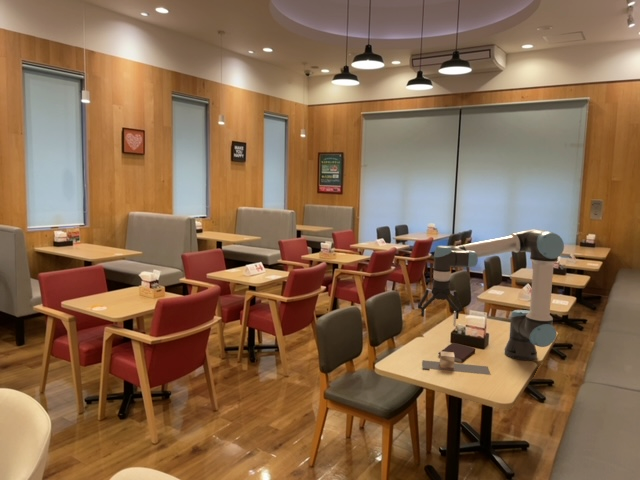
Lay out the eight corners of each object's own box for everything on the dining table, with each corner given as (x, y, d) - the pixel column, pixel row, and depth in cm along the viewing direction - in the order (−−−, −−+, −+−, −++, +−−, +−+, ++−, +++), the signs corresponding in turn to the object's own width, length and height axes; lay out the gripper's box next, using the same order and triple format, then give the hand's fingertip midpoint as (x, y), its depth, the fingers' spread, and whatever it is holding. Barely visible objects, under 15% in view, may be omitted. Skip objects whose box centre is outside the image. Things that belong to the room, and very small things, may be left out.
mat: (487, 367, 224) (487, 366, 224) (490, 375, 214) (490, 374, 214) (422, 361, 230) (422, 360, 230) (422, 369, 220) (422, 368, 220)
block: (440, 351, 226) (439, 363, 226) (441, 355, 220) (440, 368, 220) (453, 352, 224) (452, 364, 225) (454, 356, 219) (453, 369, 219)
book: (475, 353, 244) (475, 347, 243) (462, 364, 228) (462, 358, 228) (451, 348, 251) (452, 342, 251) (437, 358, 236) (437, 352, 235)
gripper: (468, 279, 220) (466, 324, 222) (414, 276, 225) (412, 320, 227) (470, 282, 213) (467, 328, 215) (413, 279, 217) (411, 324, 220)
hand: (439, 324), depth 221 cm, fingers open, 13 cm apart
